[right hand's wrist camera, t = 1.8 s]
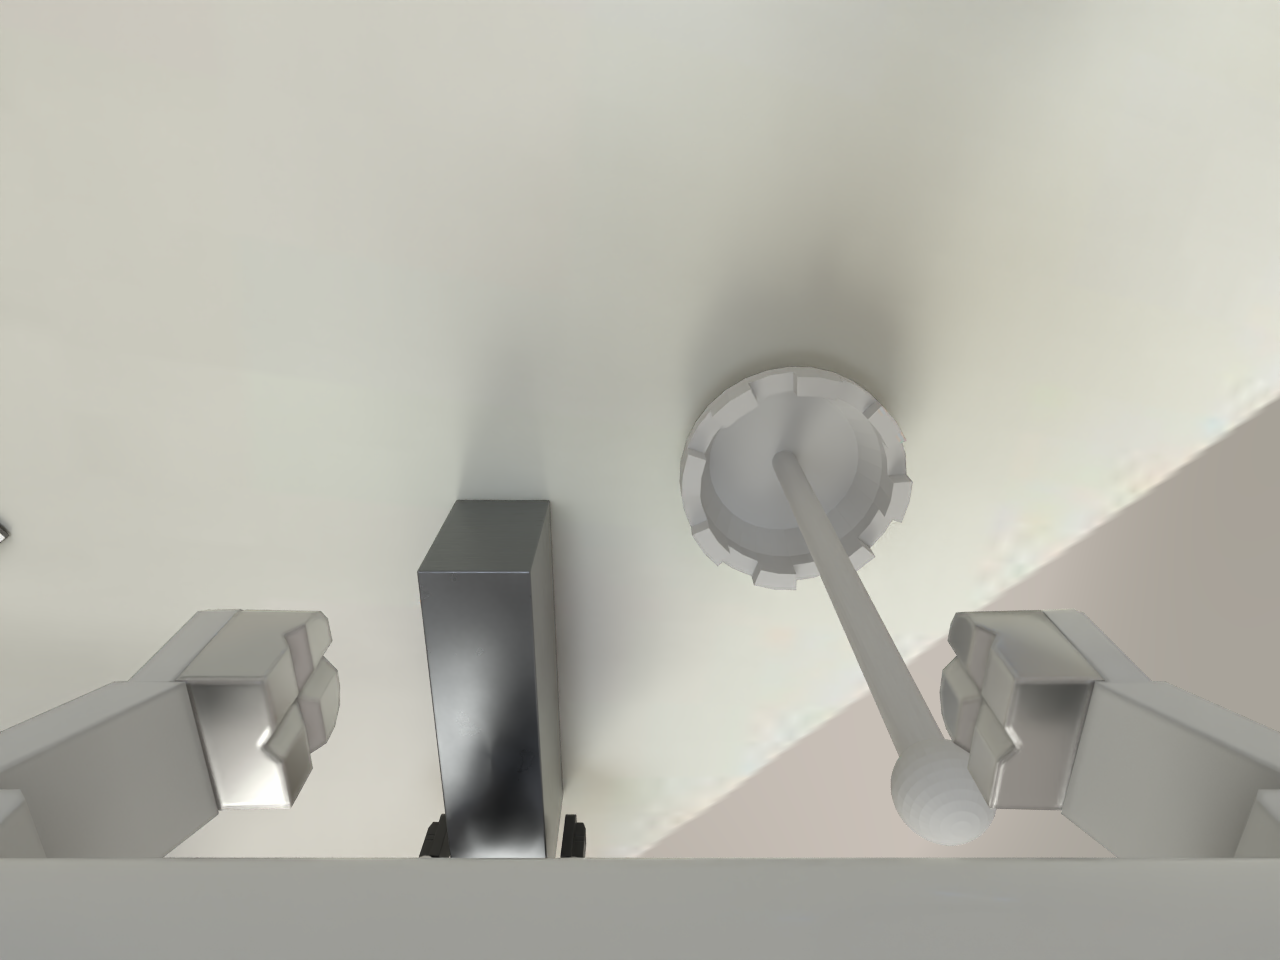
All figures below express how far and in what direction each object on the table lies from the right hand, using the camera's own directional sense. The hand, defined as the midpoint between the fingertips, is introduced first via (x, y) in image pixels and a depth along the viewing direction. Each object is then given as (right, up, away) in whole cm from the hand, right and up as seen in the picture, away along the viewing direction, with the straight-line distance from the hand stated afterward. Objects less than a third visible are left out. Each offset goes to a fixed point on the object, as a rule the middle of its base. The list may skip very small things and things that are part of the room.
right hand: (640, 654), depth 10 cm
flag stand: (+9, +4, +39) cm, 41 cm away
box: (-9, -10, +45) cm, 47 cm away
